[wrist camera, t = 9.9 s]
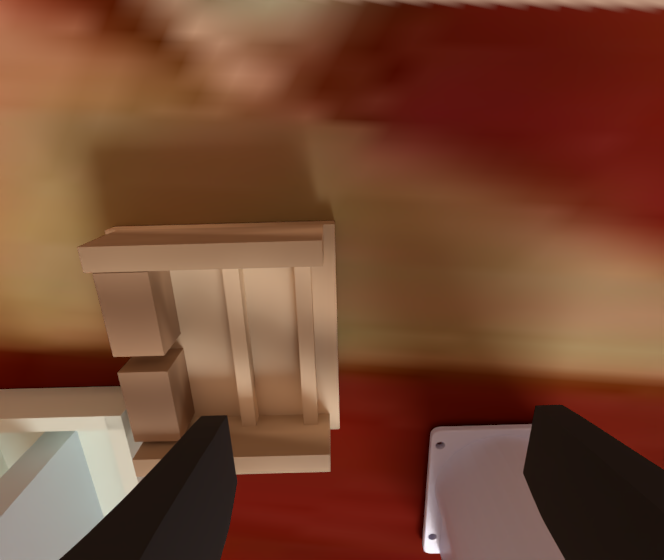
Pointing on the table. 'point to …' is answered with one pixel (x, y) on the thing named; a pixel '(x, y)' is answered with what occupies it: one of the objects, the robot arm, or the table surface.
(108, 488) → the tray
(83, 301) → the table surface
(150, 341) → the offcut
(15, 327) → the table surface
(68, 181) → the table surface
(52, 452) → the block
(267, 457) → the rack
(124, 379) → the offcut
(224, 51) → the table surface
